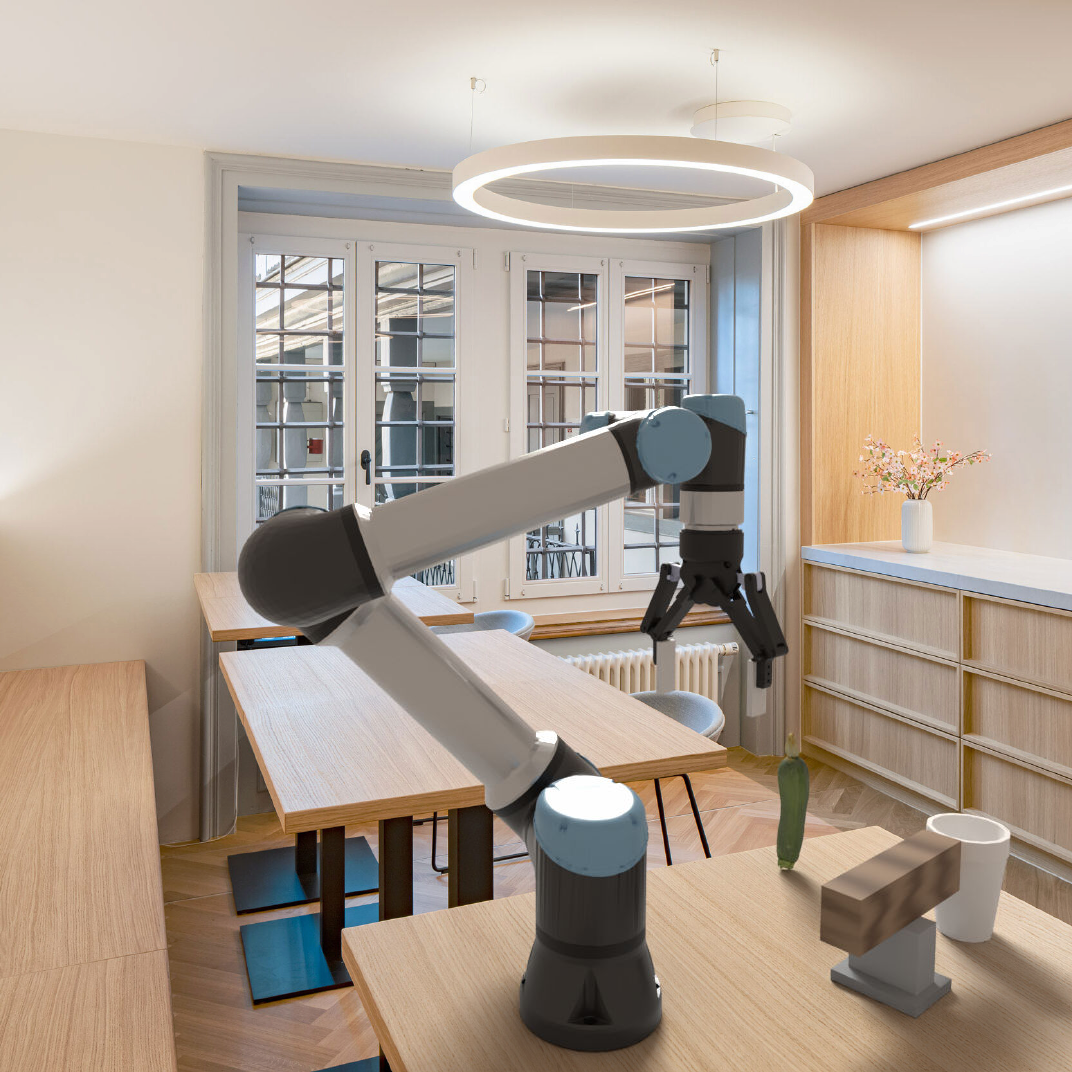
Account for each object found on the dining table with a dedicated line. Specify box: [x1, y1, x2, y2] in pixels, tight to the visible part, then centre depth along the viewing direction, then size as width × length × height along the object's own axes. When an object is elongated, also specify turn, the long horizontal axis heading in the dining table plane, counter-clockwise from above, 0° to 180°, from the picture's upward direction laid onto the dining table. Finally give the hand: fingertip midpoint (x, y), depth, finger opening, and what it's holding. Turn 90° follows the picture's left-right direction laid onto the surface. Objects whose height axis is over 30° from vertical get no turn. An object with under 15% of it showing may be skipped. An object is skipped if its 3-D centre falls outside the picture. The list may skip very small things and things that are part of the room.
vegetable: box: [776, 732, 810, 870], centre depth 135 cm, size 4×4×20 cm
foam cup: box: [925, 812, 1011, 944], centre depth 119 cm, size 10×9×13 cm
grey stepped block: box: [830, 916, 953, 1019], centre depth 107 cm, size 8×10×8 cm
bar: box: [819, 828, 961, 957], centre depth 106 cm, size 22×4×6 cm, turn 131°
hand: (709, 703), depth 116 cm, fingers open, 13 cm apart
